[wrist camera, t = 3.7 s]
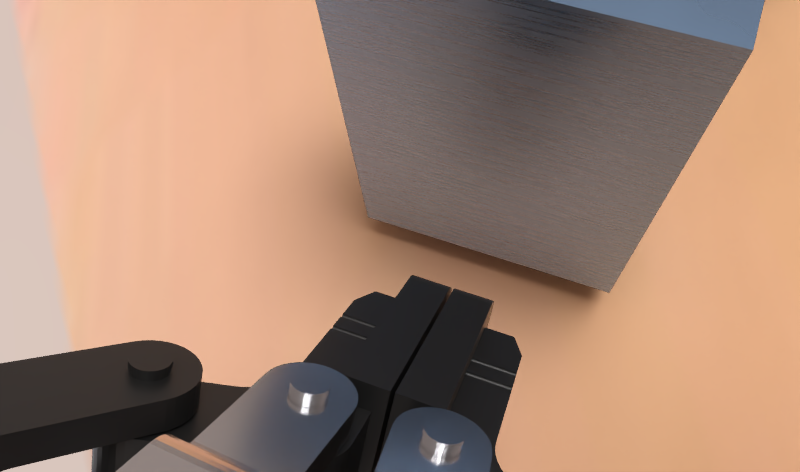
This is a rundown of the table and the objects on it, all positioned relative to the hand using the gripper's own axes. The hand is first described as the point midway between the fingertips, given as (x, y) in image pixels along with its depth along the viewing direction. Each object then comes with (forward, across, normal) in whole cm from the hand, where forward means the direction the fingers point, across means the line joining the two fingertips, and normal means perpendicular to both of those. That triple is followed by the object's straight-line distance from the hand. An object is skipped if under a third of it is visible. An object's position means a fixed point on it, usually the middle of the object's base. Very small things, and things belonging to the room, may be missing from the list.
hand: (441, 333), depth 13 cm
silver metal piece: (+10, 0, -5) cm, 11 cm away
